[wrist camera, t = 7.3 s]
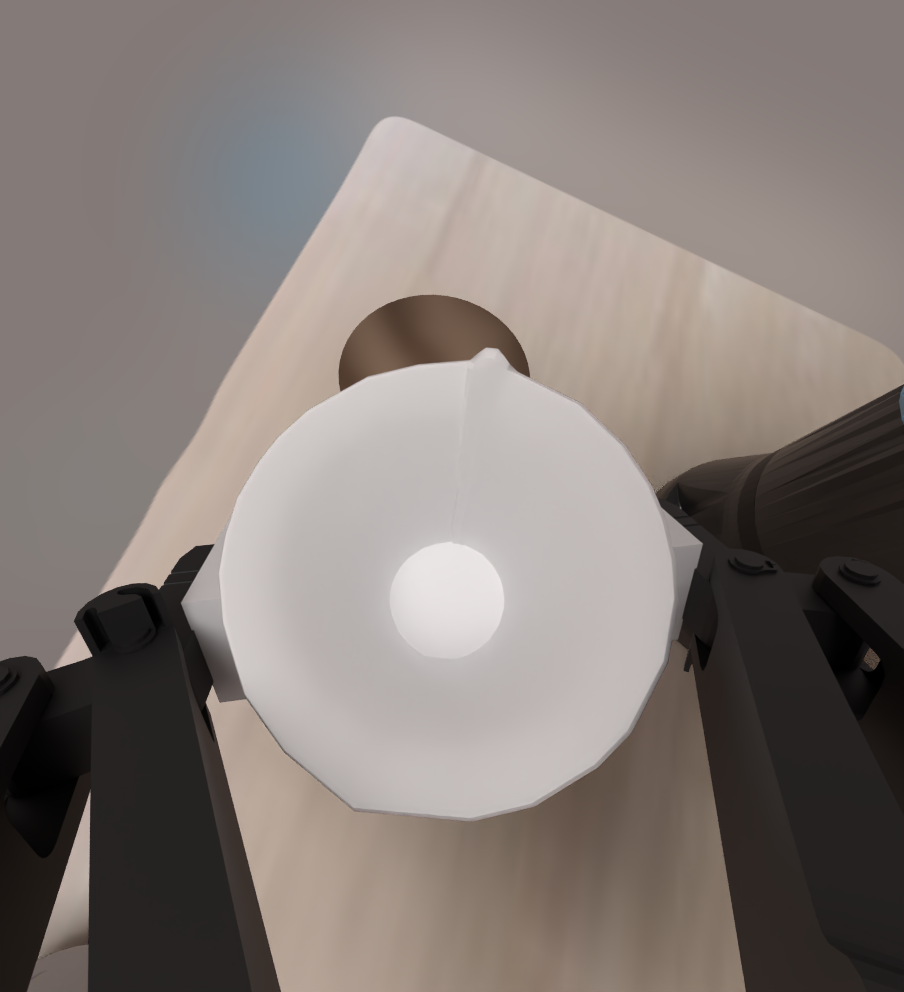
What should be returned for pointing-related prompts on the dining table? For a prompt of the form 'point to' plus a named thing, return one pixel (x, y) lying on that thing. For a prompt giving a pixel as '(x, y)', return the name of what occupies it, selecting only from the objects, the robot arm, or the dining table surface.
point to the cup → (448, 591)
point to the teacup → (62, 971)
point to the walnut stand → (424, 337)
